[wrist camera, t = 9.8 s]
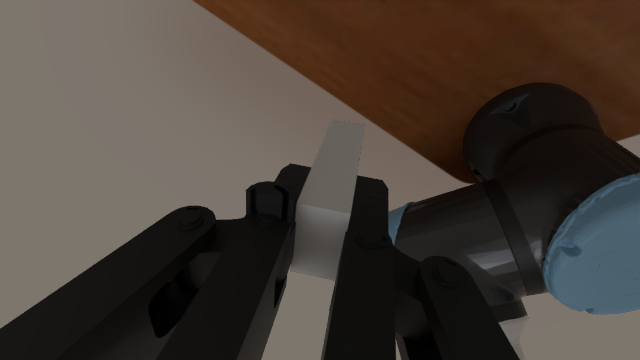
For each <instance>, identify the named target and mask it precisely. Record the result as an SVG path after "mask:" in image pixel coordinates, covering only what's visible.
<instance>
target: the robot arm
mask: <svg viewBox="0 0 640 360" xmlns="http://www.w3.org/2000/svg"><path fill="white" fill-rule="evenodd" d="M364 129H365V125H363V124H357V123H351V122H345V121H340V120H335V119H332V121H331V123H330V125H329V128H328V130H327V133H326V135H325V137H324V140H323V142H322V144H321V147H320V149H319V152H318V154H317V157H316V159H315V161H314V163H313V166H312V167H306V166H301V165H296V164H289V165H288V166H286V167H284V168H283V169H282V170H281V171H280V173H279V175H278V176H277V178H276V180H275V181H274V182H270V181H266V182H259V183H256V184H254V185H251V186H250V187H249V188H248V189H247V190H246V215H245V217H244V218H241V219H232V220H216V218H215V215H214V213H213V211H211V210H209V209H208V208H206V207H201V206H187V207H182V208H179V209H177V210H175V211H173V212H171V213H169V214H168V215H166V216H165V217H163V218H162V219H161V220H159V221H157V222H156V223H155V224H153V225H152V226H150V227H149V228H147V229H146V230H144V231H143V232H142V233H140V234H138V235H137V236H135V237H134V238H133V239H131V240H130V241H128V242H127V243H125V244H124V245H122V246H121V247H119V248H118V249H116V250H115V251H114V252H112V253H111V254H109V255H108V256H106V257H105V258H103V259H102V260H100V261H99V262H97V263H96V264H94V265H93V266H92V267H90V268H89V269H87V270H86V271H84V272H83V273H81V274H80V275H78V276H77V277H76V278H74V279H72V280H71V281H70V282H68V283H67V284H65V285H64V286H62V287H61V288H59V289H58V290H56V291H55V292H53V293H52V294H50V295H49V296H48V297H46V298H45V299H43V300H42V301H40V302H39V303H37V304H36V305H34V306H33V307H31V308H30V309H29V310H27V311H26V312H24V313H23V314H21V315H20V316H18V317H17V318H15V319H14V320H12V321H11V322H9V323H8V324H7V325H5V326H4V327H2V328H1V329H0V360H261V358H262V355H263V352H264V349H265V346H266V343H267V340H268V337H269V334H270V332H271V329H272V326H273V322H274V320H275V317H276V314H277V311H278V308H279V305H280V302H281V299H282V296H283V293H284V290H285V287H286V281H287V273H288V270H289V267H290V264H291V271H294V272H298V273H303V274H307V275H311V276H316V277H320V278H325V279H329V280H333V281H335V286H334V291H333V295H332V300H331V305H330V310H329V311H330V312H329V317H328V323H327V329H326V335H325V340H324V345H323V351H322V356H321V360H396V342H395V337H396V341H397V345H398V348H399V352H400V356H401V360H526V359H525V357H524V354H523V352H522V349H521V346H520V344H519V338H520V335H521V333H522V330H523V329H524V327H525V325H526V323H527V321H528V319H529V317H528V315H527V312H526V310H525V308H524V305H523V303H522V300H521V298H522V297H523V296H528V295H535V294H540V293H547V292H549V293H550V294H552V295H553V296H554V298H556V299H558V300H559V301H560V302H561V303H562V304H564V305H565V306H567V307H569V308H571V309H573V310H577V311H584V310H586V311H587V312H588V313H591V314H618V313H624V312H629V311H634V310H638V309H640V158H639V157H637V156H636V155H634V154H633V153H631V152H630V151H628V150H627V149H626V148H624V147H623V146H621V145H620V144H618V143H617V142H615V141H614V140H612V139H611V138H609V137H608V136H606V135H605V134H604V133H603V131H602V128H601V126H600V123H599V120H598V116H597V114H596V112H595V110H594V108H593V107H592V106H591V104H590V103H589V102H588V101H587V100H586V99H584V98H583V97H582V96H580V95H579V94H577V93H575V92H574V91H572V90H570V89H568V88H566V87H563V86H560V85H556V84H550V83H535V84H528V85H523V86H519V87H516V88H513V89H510V90H508V91H506V92H504V93H502V94H500V95H498V96H497V97H495V98H493V99H492V100H491V101H489V102H488V103H487V104H486V105H484V106H483V107H482V108H481V109H480V110H479V111H478V113H477V114H476V115H475V116H474V118H473V119H472V121H471V122H470V124H469V126H468V128H467V130H466V133H465V136H464V141H463V153H464V157H465V160H466V162H467V164H468V167H469V169H470V171H471V172H472V174H473V175H474V176H475V177H476V179H477V180H478V181H479V183H476V184H473V185H470V186H467V187H463V188H460V189H457V190H454V191H450V192H447V193H444V194H441V195H438V196H435V197H431V198H428V199H425V200H422V201H418V202H415V203H414V202H410V203H407V204H406V205H405V206H403V207H400V208H397V209H395V210H392V211H390V212H388V188H387V186H386V185H385V183H384V182H383V180H379V179H373V178H368V177H363V176H358V175H357V172H358V166H359V160H360V153H361V147H362V141H363V135H364Z"/></svg>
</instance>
